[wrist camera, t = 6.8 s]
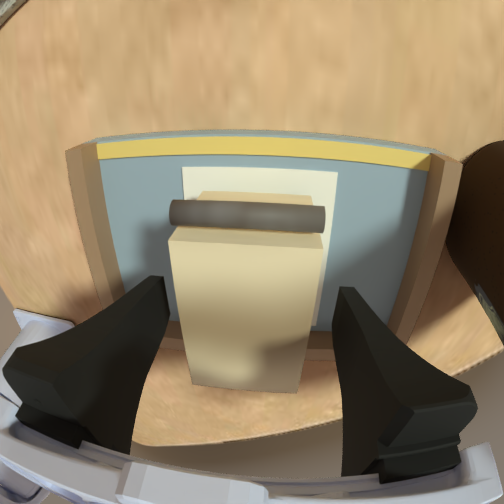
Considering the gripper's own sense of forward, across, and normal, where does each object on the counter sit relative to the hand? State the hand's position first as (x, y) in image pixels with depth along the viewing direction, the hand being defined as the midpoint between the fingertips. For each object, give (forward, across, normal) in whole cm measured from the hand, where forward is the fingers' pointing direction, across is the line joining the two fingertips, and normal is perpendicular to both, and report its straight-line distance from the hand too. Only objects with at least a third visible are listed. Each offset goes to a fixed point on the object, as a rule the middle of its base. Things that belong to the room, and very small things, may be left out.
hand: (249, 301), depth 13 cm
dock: (+5, 0, 0) cm, 5 cm away
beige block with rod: (+4, 0, 0) cm, 4 cm away
